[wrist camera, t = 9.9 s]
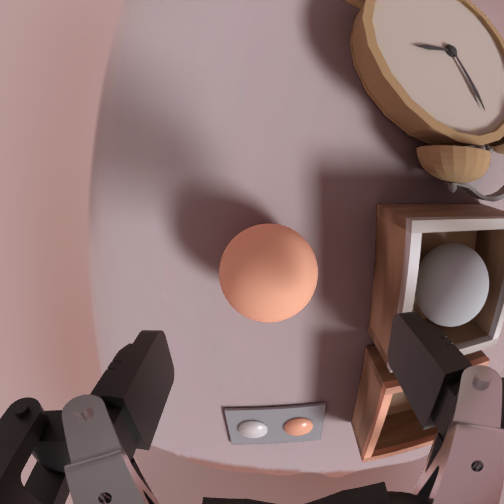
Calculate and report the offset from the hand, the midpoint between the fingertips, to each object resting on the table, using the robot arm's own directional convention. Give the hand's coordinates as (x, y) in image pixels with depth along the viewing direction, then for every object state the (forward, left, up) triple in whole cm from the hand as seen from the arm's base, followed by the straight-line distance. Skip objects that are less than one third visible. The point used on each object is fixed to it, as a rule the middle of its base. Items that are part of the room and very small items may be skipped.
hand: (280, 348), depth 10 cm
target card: (+15, 0, -8) cm, 17 cm away
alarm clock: (-11, +12, -9) cm, 18 cm away
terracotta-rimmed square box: (+11, +11, -8) cm, 18 cm away
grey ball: (+1, +11, -6) cm, 12 cm away
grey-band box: (+1, +11, -8) cm, 14 cm away
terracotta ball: (0, 0, -6) cm, 6 cm away
